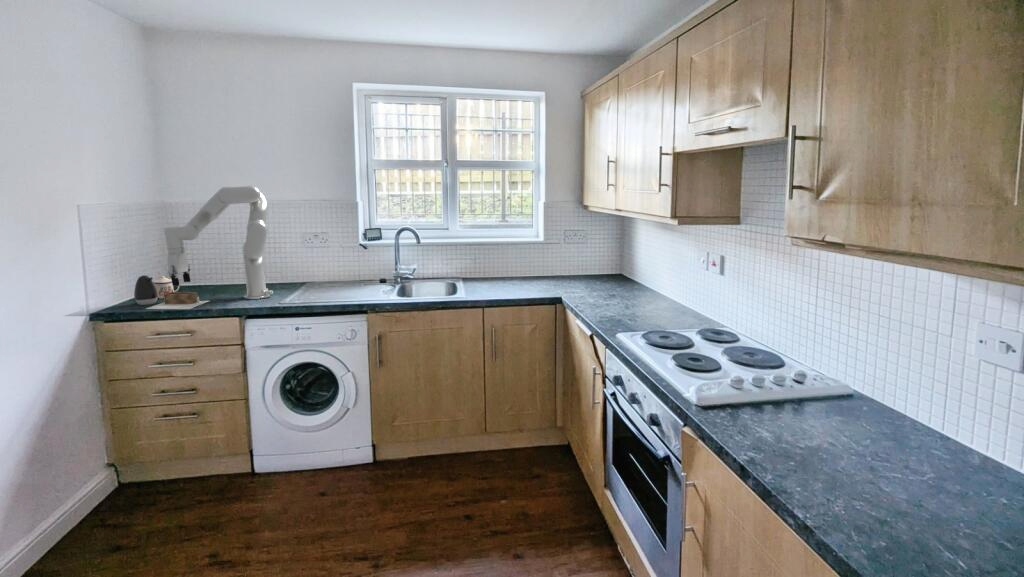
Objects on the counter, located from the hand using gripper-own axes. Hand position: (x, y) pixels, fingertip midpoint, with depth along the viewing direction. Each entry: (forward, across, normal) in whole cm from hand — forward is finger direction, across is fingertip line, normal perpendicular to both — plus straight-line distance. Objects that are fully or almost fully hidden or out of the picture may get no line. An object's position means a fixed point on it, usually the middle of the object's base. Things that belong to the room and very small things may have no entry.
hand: (181, 283), depth 285 cm
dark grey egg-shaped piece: (+10, +2, -18) cm, 21 cm away
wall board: (+10, +5, 0) cm, 12 cm away
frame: (+10, +1, -1) cm, 10 cm away
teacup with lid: (+10, -17, -19) cm, 28 cm away
